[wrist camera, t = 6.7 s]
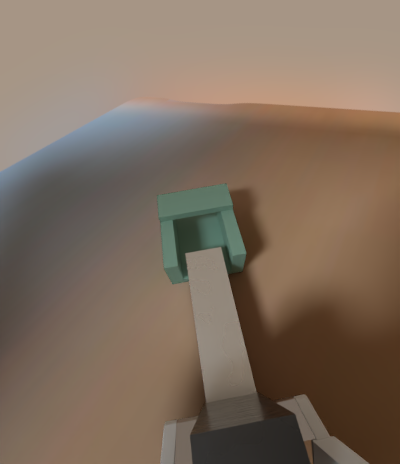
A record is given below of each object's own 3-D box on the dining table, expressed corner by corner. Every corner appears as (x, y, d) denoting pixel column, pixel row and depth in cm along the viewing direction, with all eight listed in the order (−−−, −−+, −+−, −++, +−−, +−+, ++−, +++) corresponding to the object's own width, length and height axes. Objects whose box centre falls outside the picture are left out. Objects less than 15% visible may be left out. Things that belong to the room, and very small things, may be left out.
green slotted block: (172, 284, 18) (162, 264, 15) (166, 218, 22) (156, 191, 19) (242, 271, 18) (247, 249, 15) (224, 208, 22) (224, 179, 19)
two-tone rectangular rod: (228, 554, 10) (248, 1018, 3) (186, 263, 18) (165, 193, 11) (290, 540, 10) (465, 961, 3) (222, 256, 18) (223, 182, 11)
